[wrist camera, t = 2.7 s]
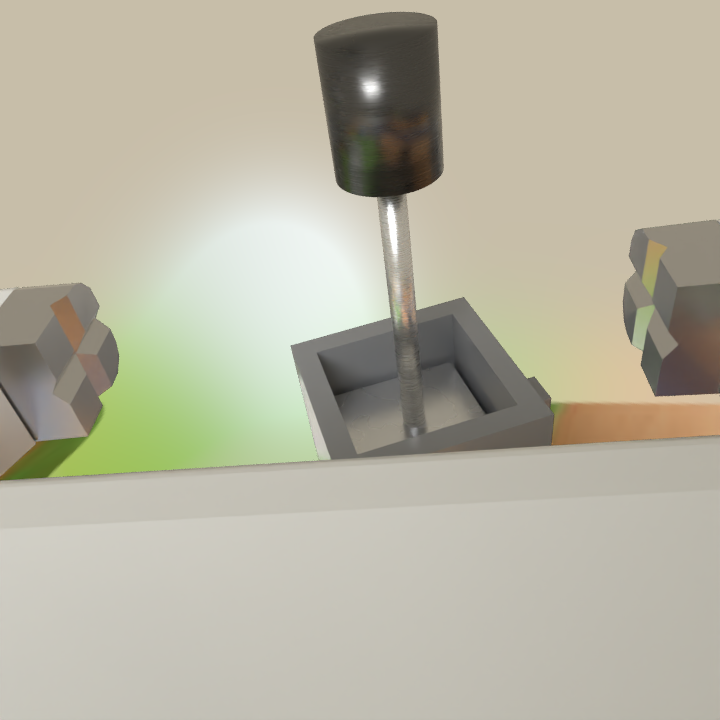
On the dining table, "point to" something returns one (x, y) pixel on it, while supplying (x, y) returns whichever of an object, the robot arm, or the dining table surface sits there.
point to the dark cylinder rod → (391, 201)
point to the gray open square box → (437, 346)
